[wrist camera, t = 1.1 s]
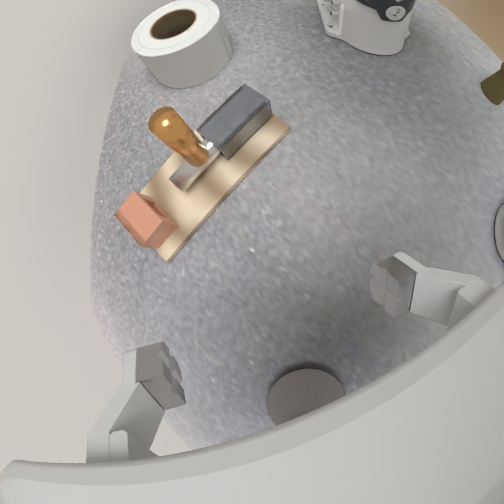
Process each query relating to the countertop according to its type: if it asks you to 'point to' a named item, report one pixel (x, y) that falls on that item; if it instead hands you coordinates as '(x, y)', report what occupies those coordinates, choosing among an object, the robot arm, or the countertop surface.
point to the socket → (145, 220)
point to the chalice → (500, 231)
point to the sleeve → (236, 120)
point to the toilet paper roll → (183, 43)
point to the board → (207, 184)
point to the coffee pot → (301, 394)
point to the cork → (494, 86)
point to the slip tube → (182, 146)
